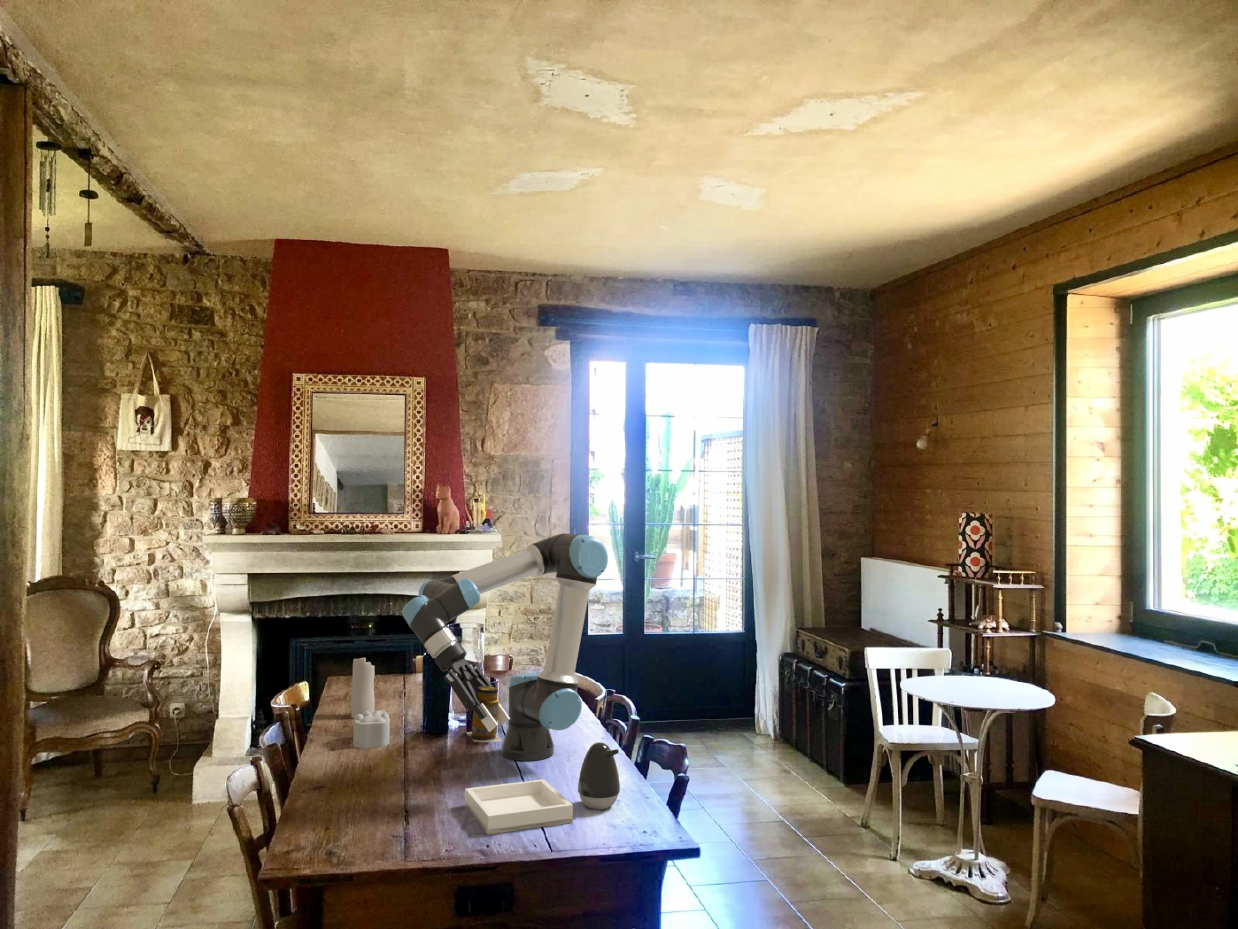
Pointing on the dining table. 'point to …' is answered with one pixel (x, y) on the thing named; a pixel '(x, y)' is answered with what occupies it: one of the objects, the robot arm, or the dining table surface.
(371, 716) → the lumpy-topped squat cylinder
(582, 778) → the pump dispenser
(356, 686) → the candle
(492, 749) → the dining table surface
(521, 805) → the tray
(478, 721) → the condiment
